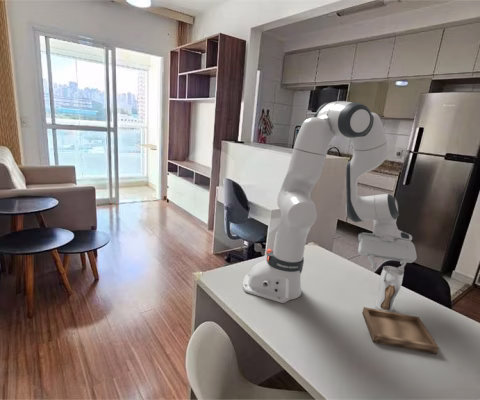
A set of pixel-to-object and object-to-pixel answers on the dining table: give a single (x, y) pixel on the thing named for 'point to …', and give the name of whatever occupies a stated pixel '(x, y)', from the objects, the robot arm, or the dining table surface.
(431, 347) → the walnut tray
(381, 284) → the beer glass
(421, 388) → the dining table surface
